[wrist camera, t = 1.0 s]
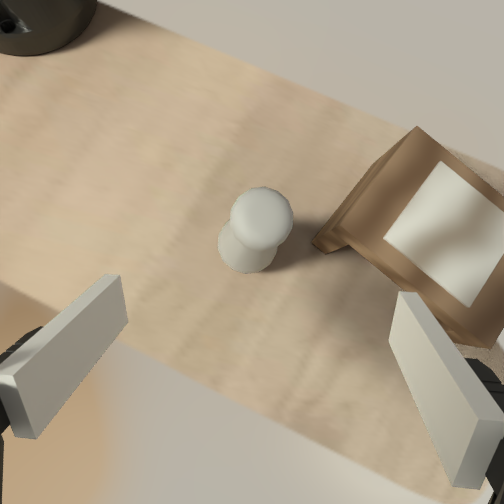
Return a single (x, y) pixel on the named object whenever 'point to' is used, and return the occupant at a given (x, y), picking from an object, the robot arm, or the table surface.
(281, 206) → the salt shaker
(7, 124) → the table surface
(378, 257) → the walnut shelf
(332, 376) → the table surface
